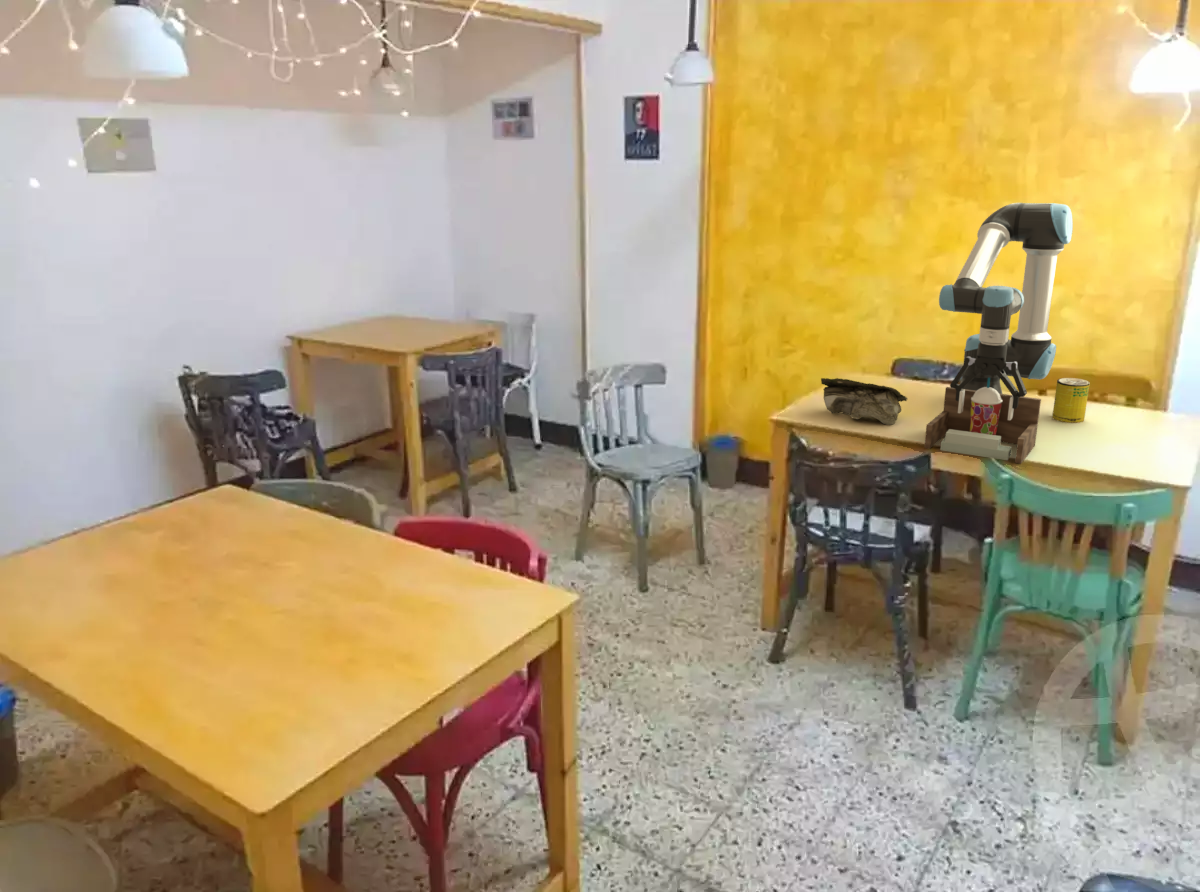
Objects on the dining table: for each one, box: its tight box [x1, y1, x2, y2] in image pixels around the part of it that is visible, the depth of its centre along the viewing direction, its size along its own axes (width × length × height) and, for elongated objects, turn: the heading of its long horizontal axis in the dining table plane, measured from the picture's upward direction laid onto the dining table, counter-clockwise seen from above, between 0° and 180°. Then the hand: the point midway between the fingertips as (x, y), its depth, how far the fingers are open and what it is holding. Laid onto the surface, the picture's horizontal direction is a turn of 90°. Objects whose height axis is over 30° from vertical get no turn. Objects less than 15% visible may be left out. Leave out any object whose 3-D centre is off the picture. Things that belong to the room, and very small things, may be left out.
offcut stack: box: [940, 429, 1013, 461], centre depth 263 cm, size 4×18×6 cm, turn 57°
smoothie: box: [970, 378, 1003, 435], centre depth 267 cm, size 8×8×20 cm
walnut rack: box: [924, 386, 1042, 465], centre depth 266 cm, size 18×26×14 cm
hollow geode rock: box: [820, 377, 909, 426], centre depth 296 cm, size 28×13×15 cm
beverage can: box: [1051, 377, 1090, 424], centre depth 290 cm, size 9×9×12 cm
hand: (984, 415), depth 267 cm, fingers open, 13 cm apart
